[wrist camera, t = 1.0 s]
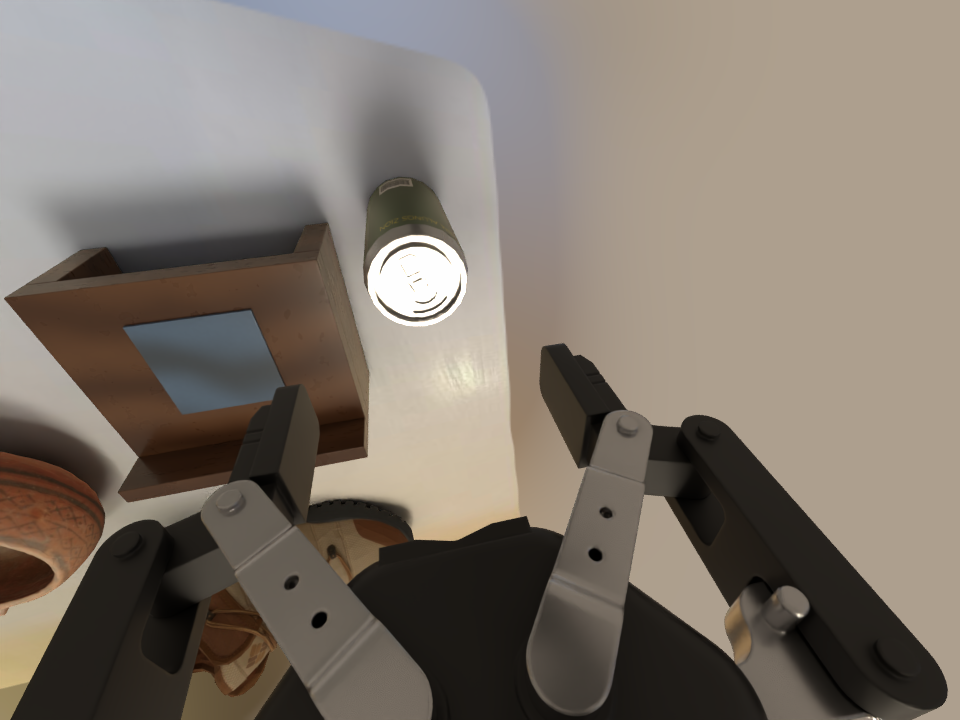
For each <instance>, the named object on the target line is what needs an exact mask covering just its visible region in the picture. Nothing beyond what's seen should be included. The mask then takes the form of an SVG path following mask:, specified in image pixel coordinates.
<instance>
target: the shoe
mask: <svg viewBox="0 0 960 720" xmlns="http://www.w3.org/2000/svg"><path fill="white" fill-rule="evenodd" d="M296 526H297V527H298V528H299V530H300V531H301V532H302V533H303V534H304V535H305V536H306V538H307V539H308V540H309V541H310V542H311V544H312V545H313V546H314V547H315V548H316V549H317V551H318V552H319V553H320V554H321V555H322V556H323V558H324V559H325V560H326V561H327V562H328V563H329V565H330V566H331V567H332V568H333V569H334V570H335V572H336V573H337V574H338V575H339V576H340V577H341V579H342V580H343V581H344V582H345V583H346V585H347V584H348V583H349V582H350V581H351V580H352V579H353V578H354V577H355V576H356V575H357V574H359V573H360V572H361V571H362V570H364V569H365V568H367V567H368V566H370V565H371V564H373V563H375V562H377V561H379V548H381V547H386V546H391V545H395V544H400V543H404V542H409V541H414V538H413V534H412V530H411V528H410V527H409V525H408V524H407V523H406V522H405V521H402V520H401V517H399V516H397V515H395V514H393V516H391V513H390V512H389V511H386V510H384V509H382V511H378V507H376V506H373V505H371V507H370V508H367V507H366V503H361V502H358V503H357V505H354V502H353V501H346V502H345V504H341V501H333V504H332V505H330V503H329V502H325V503H322V506H321V507H318V506H317V505H313V506H310V510H309V511H308V513H307V520H306V523H303V524H298V525H296ZM276 646H277V641H276V640H275V638H274V637H273V635H272V633H271V632H270V630H269V629H268V627H267V626H266V624H265V623H264V621H263V619H262V618H261V616H260V615H259V613H258V612H257V610H256V608H255V607H254V605H253V604H252V602H251V601H250V599H249V597H248V596H247V594H246V593H245V591H244V590H243V588H242V586H241V585H240V583H239V582H237V583H235V584H233V585H231V586H229V587H227V588H225V589H223V590H221V591H219V592H217V593H216V594H214V595H212V597H211V601H210V605H209V609H208V613H207V617H206V621H205V625H204V629H203V633H202V637H201V641H200V645H199V649H198V653H197V656H196V660H195V664H194V668H193V672H192V673H196V672H202V671H205V672H209V673H211V674H212V675H213V677H214V678H215V683H216V685H217V686H218V688H219V689H220V690H221V692H222V693H223V694H224V695H229V696H230V697H234V696H238V695H242V694H244V693H245V692H247V691H248V690H249V689H250V688H252V687H253V686H254V685H255V683H256V682H257V680H258V679H259V677H260V676H261V674H262V673H263V671H264V668H265V664H266V661H267V658H268V655H269V652H272V651H273V650H274V649H275V648H276Z"/></svg>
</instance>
